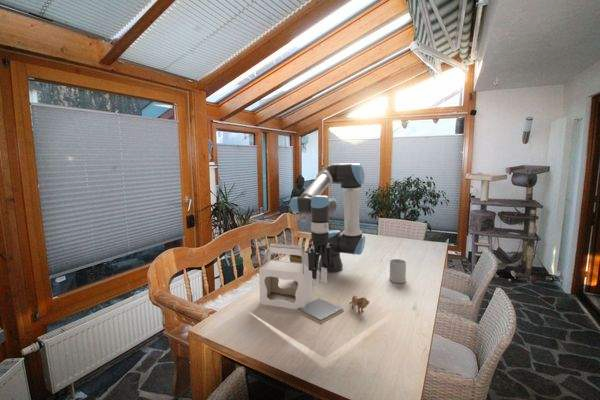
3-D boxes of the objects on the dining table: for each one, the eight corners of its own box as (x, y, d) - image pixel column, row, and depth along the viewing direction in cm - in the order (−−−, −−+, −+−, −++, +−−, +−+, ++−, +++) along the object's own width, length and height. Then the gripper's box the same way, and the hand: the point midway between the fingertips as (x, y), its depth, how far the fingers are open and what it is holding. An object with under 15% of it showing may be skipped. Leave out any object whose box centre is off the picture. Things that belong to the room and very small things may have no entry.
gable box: (259, 304, 135) (257, 246, 132) (271, 293, 147) (270, 239, 144) (304, 311, 128) (304, 250, 125) (312, 298, 140) (312, 242, 137)
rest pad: (295, 310, 128) (295, 308, 128) (318, 300, 138) (318, 297, 138) (321, 323, 117) (321, 320, 117) (343, 310, 127) (343, 308, 127)
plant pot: (284, 283, 159) (283, 255, 157) (302, 275, 170) (302, 249, 168) (304, 290, 149) (303, 260, 147) (321, 282, 160) (321, 254, 158)
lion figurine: (370, 314, 124) (370, 298, 124) (362, 316, 122) (363, 300, 121) (352, 303, 135) (353, 288, 134) (345, 305, 133) (345, 290, 132)
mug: (402, 284, 156) (403, 264, 155) (387, 281, 161) (387, 261, 160) (409, 277, 165) (409, 259, 164) (394, 274, 170) (395, 256, 169)
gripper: (312, 236, 115) (312, 292, 117) (339, 229, 127) (339, 280, 130) (299, 233, 120) (299, 287, 123) (326, 227, 133) (326, 276, 135)
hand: (320, 283), depth 126 cm, fingers open, 5 cm apart
